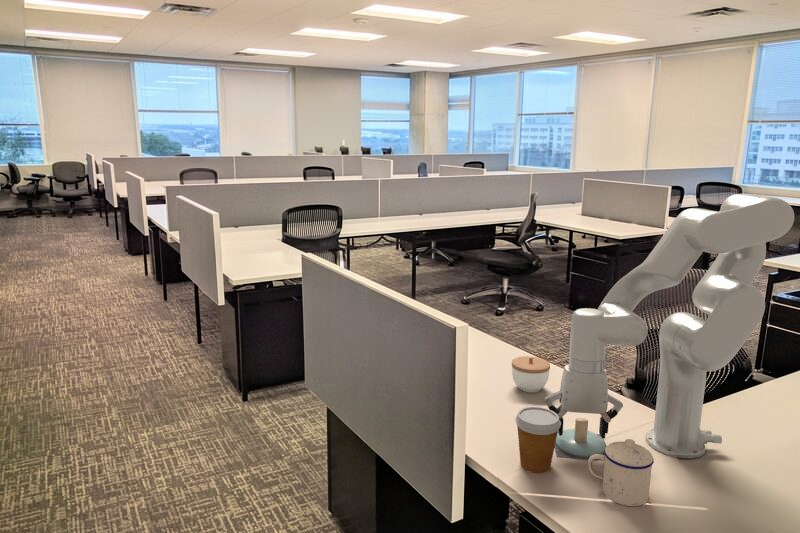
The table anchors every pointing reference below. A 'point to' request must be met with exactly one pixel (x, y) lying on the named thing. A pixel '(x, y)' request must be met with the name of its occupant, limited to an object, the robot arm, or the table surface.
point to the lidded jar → (530, 373)
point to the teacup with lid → (625, 472)
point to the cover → (580, 440)
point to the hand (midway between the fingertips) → (580, 434)
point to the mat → (564, 455)
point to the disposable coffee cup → (537, 437)
